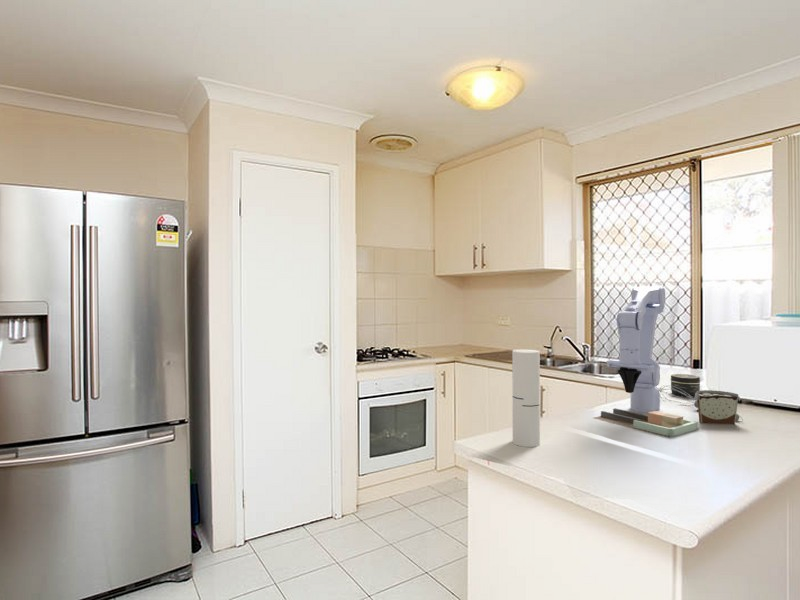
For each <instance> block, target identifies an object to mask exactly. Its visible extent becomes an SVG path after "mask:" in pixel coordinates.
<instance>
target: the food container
mask: <svg viewBox="0 0 800 600" xmlns="http://www.w3.org/2000/svg"><path fill="white" fill-rule="evenodd" d="M693 400H697V405H698V408H697V413H698V421H699V422H698V423H700V424H714V425H716V424H717V425H718V424H719V425H720V424H721V425H736V422H737V421H736V414H738V412H737V411H738V403H739V402H741V398H740V396H739V394H738V393H735V392H728V391H724V390H710V389H706V390H705V389H700V391H697V392H696V394H695V397H693Z"/></svg>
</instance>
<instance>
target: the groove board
mask: <svg viewBox="0 0 800 600" xmlns="http://www.w3.org/2000/svg"><path fill="white" fill-rule="evenodd" d="M612 412H613V413H612ZM612 412H610V411H609V412H608V411H605V410H601V411H600V415H599V416H596V417H593V419H594V420H599V421H603V422H607V423H609V424H610V423H611V424H615V425H619V426H622V427H626V428H629V429H633V430H638V431H642V432H647V433H648V434H649V433H650V434H653V435H654V434H655V435H658V436H662V437H665V438H669V439H670V438H671V437H670V436H666V435H662V434H658V433H654V432H650V431H646V430H642V429H638V428H634V427H633V420H637V421H642V422H646V423H648V414H643V413H639V412H638V413H637V412H633V411H628V410H624V409H620V408H613V409H612ZM699 429H700V428H699V427H698V429H696V430H699ZM696 430H695V431H696ZM690 432H691V431H689V432H686V433H690ZM686 433H685V434H686ZM680 435H681V434H679V435H676V436H680ZM676 436H675V437H676Z"/></svg>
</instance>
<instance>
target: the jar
mask: <svg viewBox="0 0 800 600" xmlns="http://www.w3.org/2000/svg"><path fill="white" fill-rule="evenodd" d="M673 386H674V387H673ZM676 387H677V388H676ZM672 388H673V390H670V391H671V394H672V395H673V396H674V395H675V396H676V395H677V396H678V397H682V396H683V397H682V398H689V396H690V398H692V397H693V398H695V394H696V392H697V391H701V377H700V376H699V375H695V374H686V373H674V374H671V375H670V389H672ZM678 388H679V389H678ZM674 389H675V390H674ZM680 389H681V390H680ZM676 390H677V391H676ZM682 390H683V391H682ZM678 391H680V392H682V393H683V394H682V393H680V392H678ZM685 392H686V393H685ZM684 394H686V395H684ZM688 394H689V395H688ZM687 395H688V397H687ZM677 396H676V397H677ZM691 396H692V397H691Z"/></svg>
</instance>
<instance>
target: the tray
mask: <svg viewBox="0 0 800 600" xmlns="http://www.w3.org/2000/svg"><path fill="white" fill-rule="evenodd" d="M698 426H699V422H698V421H694V420H691V419H685V418H683V425H679V426H676V427H672V428H667V427H663V426H658V425H654V424H650V423H646V422H642V421H637V420H633V427H634V428H638V429H642V430H646V431H650V432H654V433H658V434H662V435H666V436H670V438H673V437H676V435H677V436H680V435H682V434H686V432H687V433H690V432H692V431H696V429H697V430H699V429H698V428H699V427H698ZM634 428H633V429H634ZM689 431H690V432H689ZM679 434H680V435H679Z"/></svg>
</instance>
